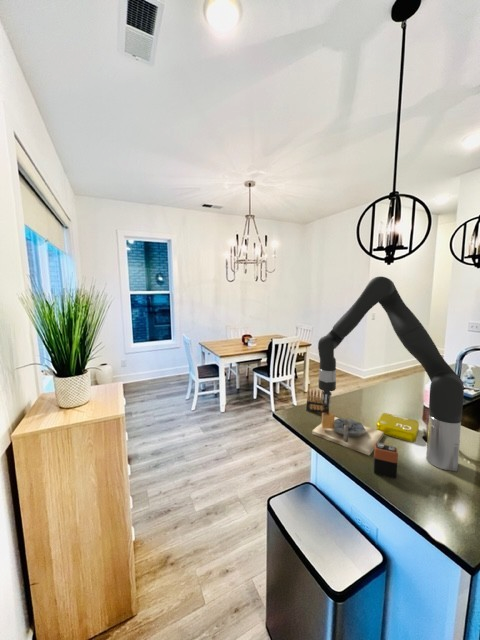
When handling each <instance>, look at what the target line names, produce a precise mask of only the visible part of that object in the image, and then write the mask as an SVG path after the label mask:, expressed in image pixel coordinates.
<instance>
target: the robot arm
mask: <svg viewBox="0 0 480 640" xmlns="http://www.w3.org/2000/svg"><path fill="white" fill-rule="evenodd" d="M378 303H379V305H380V306H381V307H382V309H383V310H384V311H385V313H386V314H387V316H388V319H389V322H390V325H391V326H392V328H393V331H394V333H395V335H396V336H397V338H398V339H399V341H400V342H401V344H402V346H403V347H404V348H405V349H406V351H407V352H408V353H410V355H411V356H412V357H414V358H415V359H416V360H417V362H419V364H420V365H421V366H422V368H423V369H424V371H425V372H426V375H427V376H428V378H429V380H430V385H429V399H428V400H429V402H428V411H429V412H428V426H427V439H426V440H427V441H426V461H427V462H428V463H429V464H430V465H432V466H433V467H436V468H438V469H441V470H445V471H453V472H458V467H459V459H460V457H459V456H460V447H461V446H460V443H461V431H462V430H461V426H462V417H463V408H464V405H463V403H464V397H465V396H464V395H465V394H464V393H465V389H464V382H463V381H462V378H461V377H459V375H458V374H457V373H456V372H455V371H454V370H453V368H451V366H450V365H449V364H448V363H447V362H446V360H445V359H444V358H443V356H442V355H441V353H440V351H439V349H438V347H437V345H436V344H435V342H434V340H433V338H432V337H431V335H430V334H429V332H428V331H427V330H426V328H425V327H424V325H423V324H422V323H421V322H420V320H419V319H418V318H417V316H416V315H415V314H414V313H413V312H412V310H411V309H410V308H409V307H408V306H407V304H406V303H405V302H404V300H403V298H402V297H401V295H400V293H399V291H398V289H397V288H396V285H395V284H394V281H392V280H391V279H390V278H388V277H386V276H382V275H381V276H377V277H373V278H372V279H370V281H369V282H368V283H367V285H366V286H365V288H364V289H363V291H362V292H361V294H360V296H359V297H358V298H357V300H355V301H354V303H353V304H352V305H351V307H350V308H349V309H348V310H347V311H346V312H345V313H344V314H343V315H342V316H341V317H340V318H339V319H338V320H337V321H336V323H334V325H333V327H332V329H331V330H330V331H329V332H328V333H327V334H326V335H324V336H321V338H320V339H319V340H318V342H317V343H318V344H317V351H318V355H319V371H318V390H320V391H322V390H323V393H322V398H323V400H322V403H323V408H324V413H330V407H331V406H330V404H331V403H332V402H331V401H332V394H333V393H332V392H334V391H336V389H337V368H336V367H337V360H336V358H335V350H336V349H337V348H338V346H339V345H340V344H341V343H342V342H343V340H345V338H346V337H347V336H348V335H349V334H350V333H351V332H352V331H353V330H354V329H355V328H356V327H357V326H358V325H359V324H360V323H361V321H362V320H363V318H364V317H365V316H366V314H367V313H368V312H370V310H371V309H373V307H374V306H377V304H378Z"/></svg>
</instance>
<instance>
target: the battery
mask: <svg viewBox="0 0 480 640" xmlns="http://www.w3.org/2000/svg"><path fill="white" fill-rule="evenodd" d="M397 449H398V448H397V447H395V446H393V445H387V444H384V443H382V442H379V443H378V444H377V443H375V447H374V450H373V472H374V474H375V475H380V476H383V477H387V478H391V479H397V476H398V475H397V474H398V458H399V457H398V456H399V454H398V450H397Z"/></svg>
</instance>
